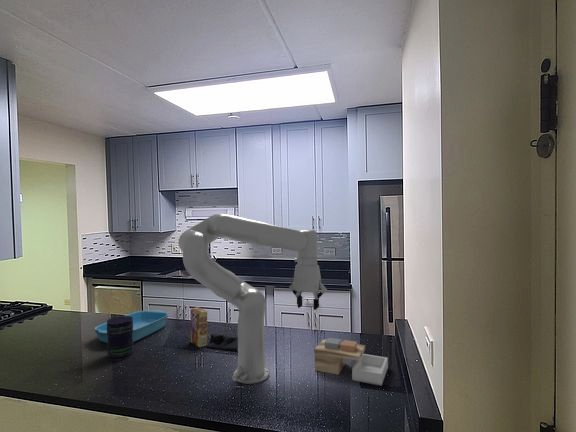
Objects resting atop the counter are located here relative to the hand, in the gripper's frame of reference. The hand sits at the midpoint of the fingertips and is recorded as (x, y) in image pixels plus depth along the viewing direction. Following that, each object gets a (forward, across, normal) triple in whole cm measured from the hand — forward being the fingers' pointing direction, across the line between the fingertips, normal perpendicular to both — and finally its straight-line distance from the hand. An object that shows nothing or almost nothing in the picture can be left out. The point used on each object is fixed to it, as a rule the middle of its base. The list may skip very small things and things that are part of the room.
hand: (307, 307), depth 134 cm
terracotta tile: (+14, +16, 0) cm, 21 cm away
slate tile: (+14, +10, 0) cm, 17 cm away
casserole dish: (+22, -90, -3) cm, 93 cm away
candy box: (+22, -52, -1) cm, 56 cm away
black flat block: (+22, -37, +4) cm, 43 cm away
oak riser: (+22, +13, 0) cm, 25 cm away
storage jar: (+22, -74, -24) cm, 81 cm away
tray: (+22, +24, 0) cm, 32 cm away
